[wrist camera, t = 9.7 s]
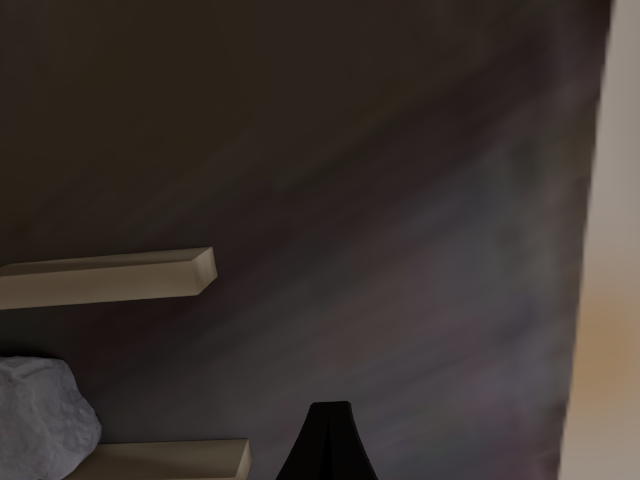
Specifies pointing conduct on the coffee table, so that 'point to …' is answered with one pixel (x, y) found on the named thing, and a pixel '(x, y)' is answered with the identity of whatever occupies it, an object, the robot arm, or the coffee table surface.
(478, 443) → the coffee table surface
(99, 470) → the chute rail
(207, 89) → the coffee table surface
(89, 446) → the stone block
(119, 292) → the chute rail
